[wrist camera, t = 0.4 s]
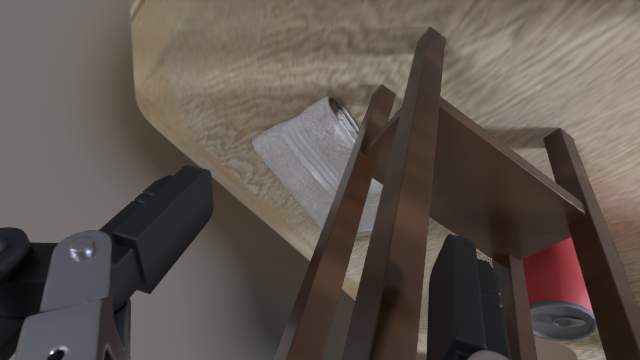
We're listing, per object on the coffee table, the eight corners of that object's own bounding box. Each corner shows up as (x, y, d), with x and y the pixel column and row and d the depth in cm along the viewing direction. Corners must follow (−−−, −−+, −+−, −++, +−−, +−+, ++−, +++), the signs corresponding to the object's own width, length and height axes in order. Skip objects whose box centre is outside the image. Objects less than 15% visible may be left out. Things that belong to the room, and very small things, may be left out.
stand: (430, 26, 29) (314, 652, 6) (572, 137, 32) (859, 869, 9) (372, 96, 35) (195, 567, 12) (497, 186, 37) (554, 717, 14)
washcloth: (339, 233, 49) (333, 251, 47) (252, 133, 42) (240, 149, 40) (420, 211, 42) (418, 231, 40) (333, 87, 35) (324, 102, 33)
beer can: (575, 237, 38) (607, 347, 30) (506, 242, 42) (518, 342, 33) (570, 191, 35) (605, 300, 27) (496, 201, 38) (506, 300, 30)
